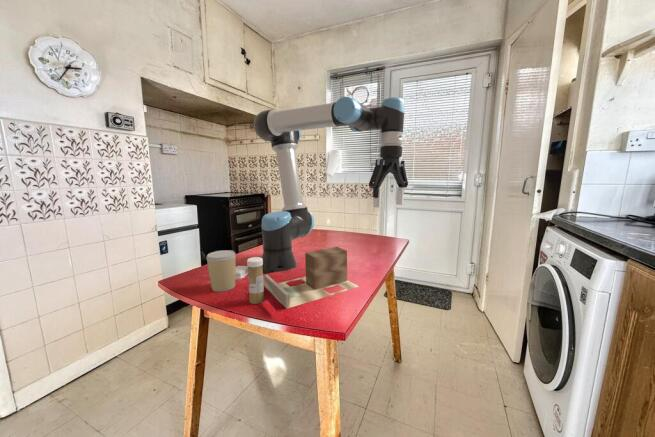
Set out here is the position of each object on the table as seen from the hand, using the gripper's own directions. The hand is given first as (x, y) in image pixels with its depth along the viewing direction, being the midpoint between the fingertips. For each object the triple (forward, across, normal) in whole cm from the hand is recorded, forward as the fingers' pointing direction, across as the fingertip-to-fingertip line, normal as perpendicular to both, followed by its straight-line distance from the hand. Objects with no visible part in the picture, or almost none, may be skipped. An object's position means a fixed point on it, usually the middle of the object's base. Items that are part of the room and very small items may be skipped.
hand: (388, 205), depth 94 cm
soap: (+28, -42, +39) cm, 64 cm away
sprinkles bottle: (+28, -46, +14) cm, 55 cm away
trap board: (+27, -29, +8) cm, 41 cm away
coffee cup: (+28, -50, +31) cm, 65 cm away
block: (+26, -23, +7) cm, 35 cm away
